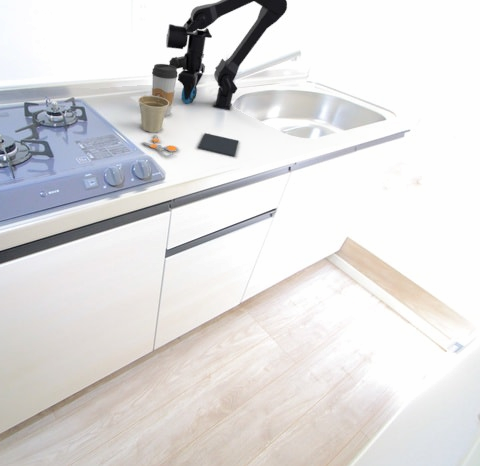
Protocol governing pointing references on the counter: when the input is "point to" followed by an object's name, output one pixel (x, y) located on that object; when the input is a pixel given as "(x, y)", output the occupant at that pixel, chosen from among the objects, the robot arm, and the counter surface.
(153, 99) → the flower pot
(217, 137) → the mat
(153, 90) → the coffee cup
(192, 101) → the ornament
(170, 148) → the key chain
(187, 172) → the counter surface
